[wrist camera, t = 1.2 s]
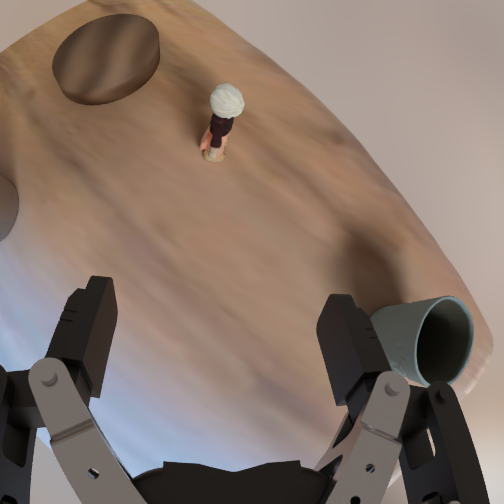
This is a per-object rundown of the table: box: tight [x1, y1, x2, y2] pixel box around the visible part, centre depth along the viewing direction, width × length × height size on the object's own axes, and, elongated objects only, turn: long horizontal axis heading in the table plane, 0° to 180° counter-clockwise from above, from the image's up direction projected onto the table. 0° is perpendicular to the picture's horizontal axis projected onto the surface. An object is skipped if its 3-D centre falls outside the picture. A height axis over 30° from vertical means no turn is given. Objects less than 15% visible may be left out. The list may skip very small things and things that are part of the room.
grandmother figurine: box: [200, 83, 244, 162], centre depth 32 cm, size 8×4×13 cm, turn 178°
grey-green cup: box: [370, 296, 474, 387], centre depth 33 cm, size 10×10×12 cm
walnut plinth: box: [52, 14, 160, 105], centre depth 35 cm, size 16×16×4 cm
